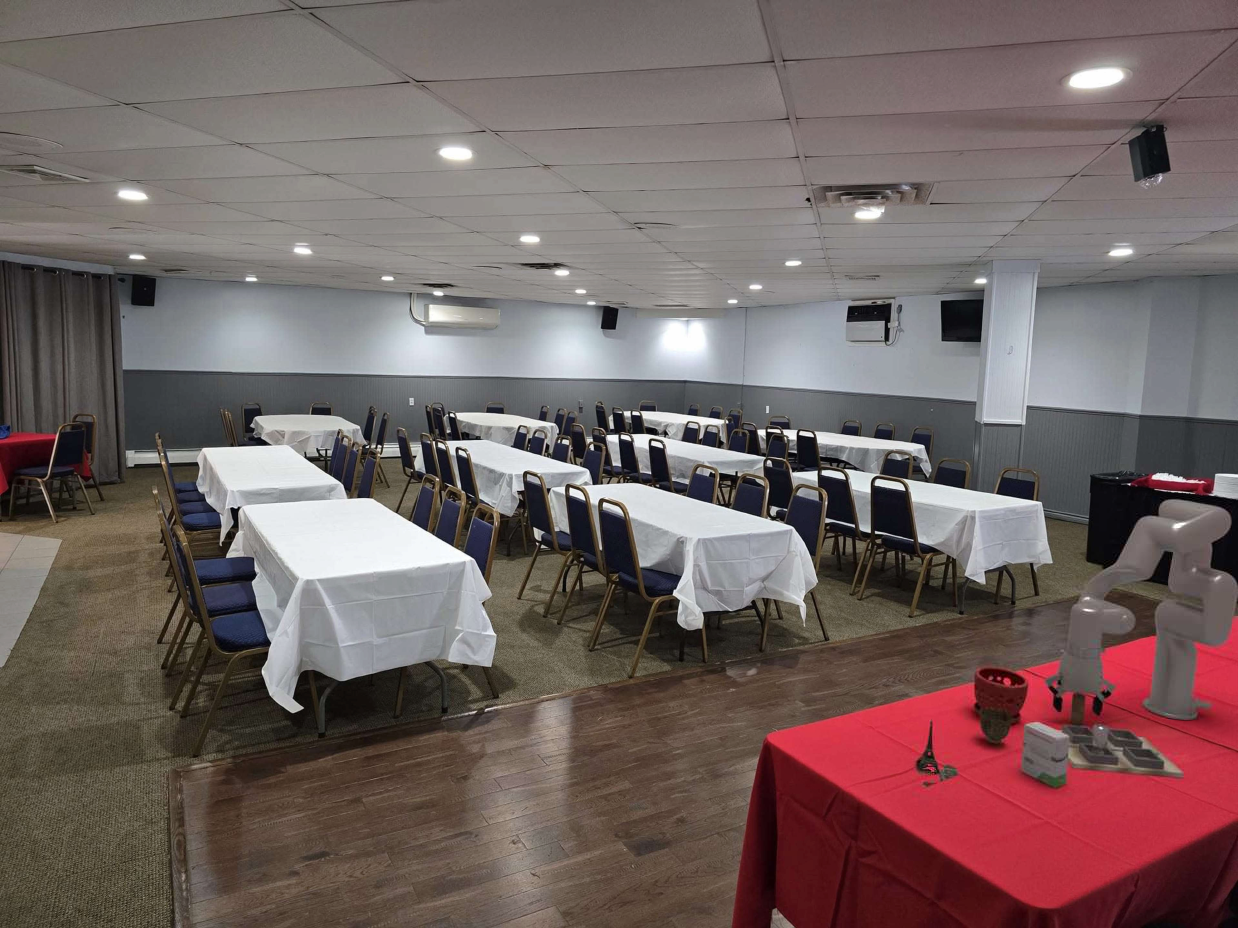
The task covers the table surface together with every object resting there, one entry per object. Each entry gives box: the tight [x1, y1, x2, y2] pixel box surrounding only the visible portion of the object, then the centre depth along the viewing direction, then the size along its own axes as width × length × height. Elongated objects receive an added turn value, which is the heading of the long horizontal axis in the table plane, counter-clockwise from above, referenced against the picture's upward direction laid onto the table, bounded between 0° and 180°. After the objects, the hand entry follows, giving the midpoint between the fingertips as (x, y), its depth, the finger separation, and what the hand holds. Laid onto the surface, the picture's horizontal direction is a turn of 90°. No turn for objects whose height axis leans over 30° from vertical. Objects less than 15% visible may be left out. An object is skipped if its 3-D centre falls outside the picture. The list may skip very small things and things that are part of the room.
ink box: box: [1020, 721, 1070, 789], centre depth 181 cm, size 9×5×12 cm, turn 26°
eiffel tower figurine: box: [914, 720, 959, 788], centre depth 184 cm, size 15×10×13 cm
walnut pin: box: [1069, 692, 1087, 726], centre depth 210 cm, size 3×3×8 cm
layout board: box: [1056, 723, 1184, 779], centre depth 193 cm, size 24×18×9 cm
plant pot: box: [973, 666, 1029, 724], centre depth 213 cm, size 13×13×12 cm
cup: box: [979, 707, 1012, 746], centre depth 198 cm, size 8×7×8 cm
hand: (1076, 711), depth 210 cm, fingers open, 9 cm apart
